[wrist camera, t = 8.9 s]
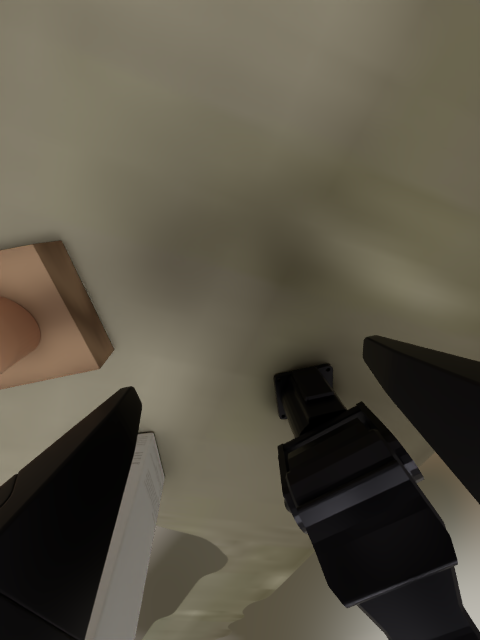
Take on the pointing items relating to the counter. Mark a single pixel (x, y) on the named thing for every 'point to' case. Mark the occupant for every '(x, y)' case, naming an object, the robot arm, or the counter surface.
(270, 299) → the counter surface
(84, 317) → the tan flat block
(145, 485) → the supplement box
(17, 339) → the terracotta cylinder
